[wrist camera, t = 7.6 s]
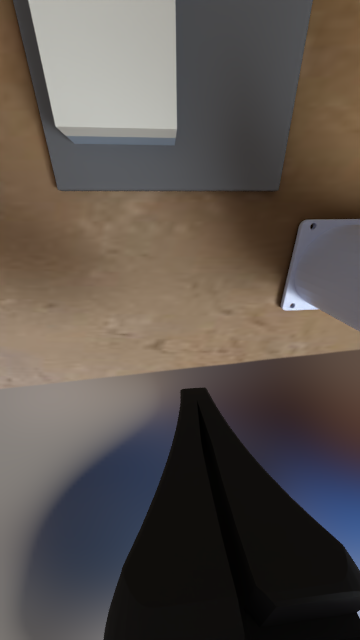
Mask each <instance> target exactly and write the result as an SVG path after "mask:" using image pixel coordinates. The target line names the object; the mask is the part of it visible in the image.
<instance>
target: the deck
mask: <svg viewBox="0 0 360 640" xmlns="http://www.w3.org/2000/svg"><path fill="white" fill-rule="evenodd" d="M28 2H29V6H30V11H31V16H32V20H33V25H34V29H35V34H36V39H37V43H38V48H39V53H40V57H41V62H42V66H43V71H44V76H45V80H46V85H47V89H48V94H49V99H50V103H51V108H52V113H53V117H54V122H55V126H56V127H57V128H58V129H59V130H60V131H61V132H62V133H63V134H64V135H65V136H67V137H68V138H69V139H70V140H71V141H72V142H73V143H74V144H123V145H175V139H176V132H177V91H176V5H175V0H28Z"/></svg>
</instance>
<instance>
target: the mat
mask: <svg viewBox="0 0 360 640" xmlns="http://www.w3.org/2000/svg"><path fill="white" fill-rule="evenodd" d="M312 2H313V0H175V5H176V91H177V132H176V139H175V145H123V144H74V143H73V142H72V141H71V140H70V139H69V138H68V137H67V136H65V135H64V134H63V133H62V132H61V131H60V130H59V129H58V128H57V127H56V126H55V122H54V117H53V113H52V108H51V103H50V99H49V94H48V89H47V85H46V80H45V76H44V71H43V66H42V62H41V57H40V53H39V48H38V43H37V39H36V34H35V29H34V25H33V20H32V16H31V11H30V6H29V2H28V0H13V3H14V7H15V11H16V15H17V20H18V24H19V28H20V32H21V36H22V41H23V45H24V49H25V53H26V57H27V62H28V66H29V70H30V74H31V78H32V83H33V87H34V91H35V95H36V99H37V104H38V108H39V112H40V116H41V120H42V125H43V129H44V133H45V137H46V141H47V146H48V150H49V154H50V158H51V163H52V167H53V171H54V175H55V179H56V184H57V188H58V190H61V191H277V190H279V185H280V180H281V174H282V169H283V163H284V158H285V152H286V146H287V141H288V135H289V130H290V124H291V119H292V113H293V107H294V102H295V96H296V91H297V85H298V80H299V74H300V68H301V63H302V57H303V52H304V46H305V41H306V35H307V29H308V24H309V18H310V13H311V7H312Z"/></svg>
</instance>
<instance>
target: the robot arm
mask: <svg viewBox="0 0 360 640" xmlns="http://www.w3.org/2000/svg"><path fill="white" fill-rule="evenodd" d="M312 223H313V228H312V229H310V226H311V224H312ZM292 303H293V305H292V306H290V305H291V304H292ZM281 308H282V309H283V310H311V309H320V310H321V311H323V312H325V313H327V314H329V315H331V316H332V317H334V318H336V319H338V320H340V321H342V322H343V323H345V324H347V325H349V326H351V327H353V328H354V329H356V330H358V331H360V219H315V220H304V221H302V222H301V223H300V225H299V229H298V233H297V237H296V242H295V246H294V250H293V254H292V259H291V263H290V267H289V271H288V276H287V280H286V284H285V288H284V293H283V297H282V301H281ZM359 610H360V570H359V569H358V567H357V566H356V564H355V563H354V561H353V559H352V558H351V556H350V555H349V553H348V552H347V550H346V549H345V547H344V546H343V545H342V544H341V543H340V542H339V541H338V540H337V539H336V538H334V537H333V536H332V535H331V534H330V533H329V532H328V531H327V530H326V529H324V528H323V527H322V526H321V525H320V524H319V523H318V522H317V521H316V520H314V519H313V518H312V517H311V516H310V515H309V514H308V513H307V512H306V511H305V510H304V509H303V508H302V507H300V505H298V504H297V503H296V502H295V501H294V500H293V499H292V498H291V497H290V496H289V495H288V494H287V493H286V492H285V491H284V490H283V489H282V488H281V487H280V485H278V483H277V482H276V481H275V480H274V479H273V478H272V477H271V476H270V475H269V474H268V473H267V472H266V471H265V470H264V469H263V468H262V466H261V465H260V464H259V463H258V462H257V461H256V460H255V458H254V457H253V456H252V455H251V454H250V453H249V451H248V450H247V449H246V448H245V446H244V445H243V444H242V443H241V442H240V440H239V439H238V438H237V436H236V435H235V433H234V432H233V431H232V429H231V428H230V426H229V425H228V424H227V422H226V421H225V419H224V418H223V416H222V415H221V413H220V412H219V410H218V408H217V407H216V405H215V403H214V402H213V400H212V398H211V396H210V394H209V393H208V391H207V389H206V388H190V389H182V390H181V404H180V411H179V417H178V422H177V427H176V431H175V435H174V439H173V443H172V446H171V450H170V453H169V456H168V459H167V463H166V466H165V469H164V471H163V474H162V477H161V480H160V483H159V485H158V488H157V490H156V493H155V495H154V498H153V500H152V503H151V505H150V507H149V510H148V512H147V515H146V517H145V519H144V522H143V524H142V526H141V529H140V531H139V533H138V535H137V537H136V539H135V542H134V544H133V546H132V548H131V550H130V552H129V554H128V557H127V559H126V561H125V563H124V565H123V568H122V572H121V574H120V578H119V581H118V583H117V586H116V590H115V593H114V596H113V599H112V602H111V606H110V609H109V613H108V617H107V622H106V627H105V633H104V640H360V618H359V616H358V614H357V612H358V611H359Z"/></svg>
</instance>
